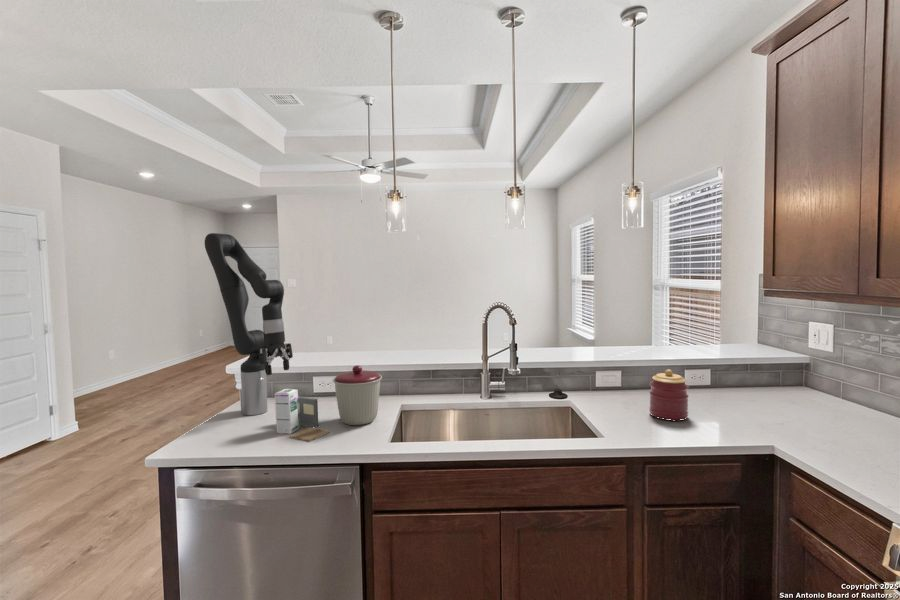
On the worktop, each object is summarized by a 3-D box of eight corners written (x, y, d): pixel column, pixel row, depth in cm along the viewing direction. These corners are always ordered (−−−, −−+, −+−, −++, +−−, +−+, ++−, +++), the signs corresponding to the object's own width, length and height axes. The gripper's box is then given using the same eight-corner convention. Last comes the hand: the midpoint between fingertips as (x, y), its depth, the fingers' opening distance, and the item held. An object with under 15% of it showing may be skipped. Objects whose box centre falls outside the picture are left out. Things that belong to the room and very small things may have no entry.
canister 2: (665, 408, 170) (665, 364, 169) (696, 418, 159) (696, 370, 158) (641, 413, 165) (641, 368, 164) (671, 424, 153) (672, 375, 152)
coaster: (290, 437, 147) (290, 435, 147) (309, 428, 155) (309, 427, 155) (310, 441, 143) (310, 439, 143) (328, 432, 152) (328, 430, 152)
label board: (285, 424, 161) (284, 397, 160) (291, 421, 164) (290, 395, 163) (311, 428, 155) (310, 401, 155) (318, 425, 158) (317, 398, 158)
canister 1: (327, 429, 154) (325, 371, 153) (341, 413, 172) (339, 361, 171) (378, 429, 153) (376, 370, 152) (387, 413, 171) (385, 360, 170)
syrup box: (291, 434, 150) (289, 393, 150) (276, 433, 152) (274, 392, 151) (300, 428, 156) (298, 388, 155) (285, 427, 157) (283, 388, 156)
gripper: (281, 329, 177) (284, 368, 177) (251, 333, 164) (256, 376, 164) (294, 328, 173) (298, 368, 174) (266, 333, 160) (270, 376, 161)
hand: (278, 372), depth 169 cm, fingers open, 8 cm apart
